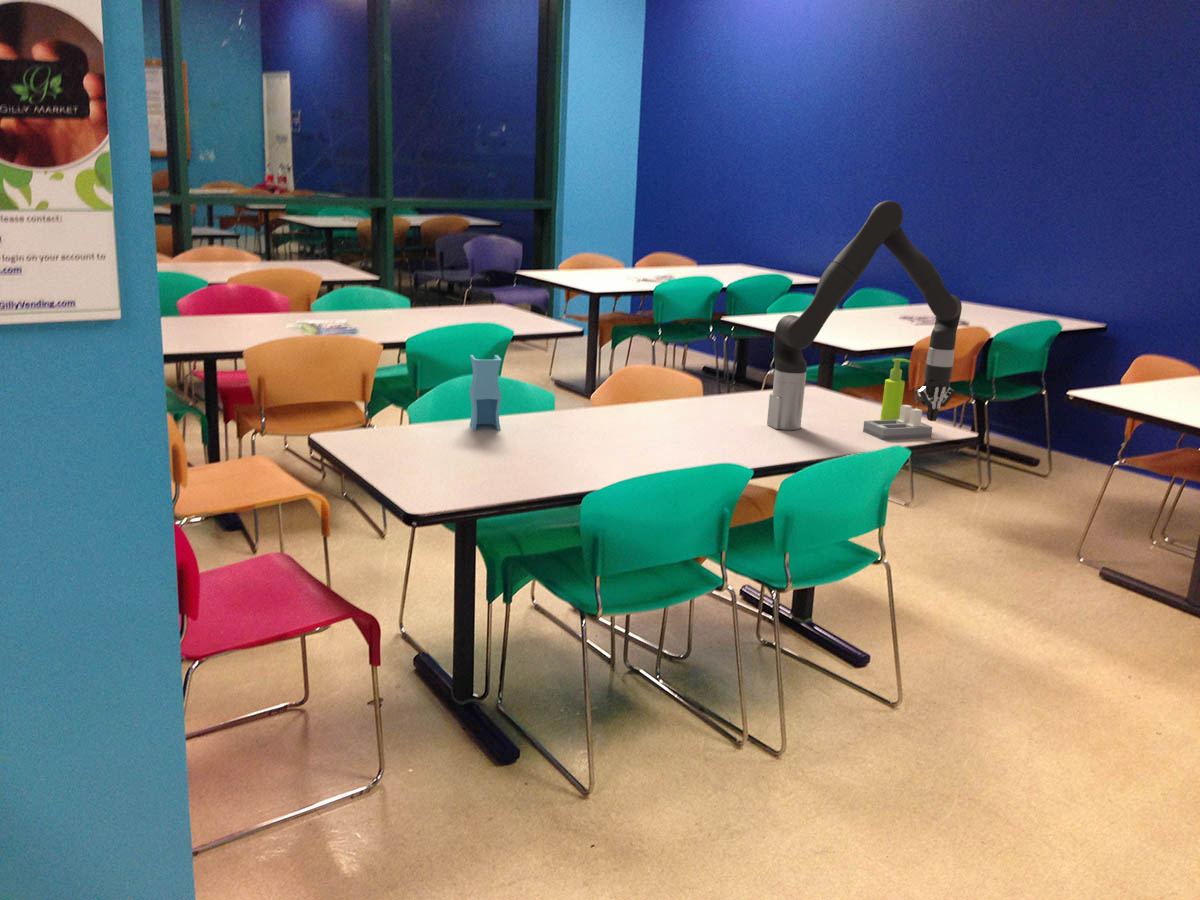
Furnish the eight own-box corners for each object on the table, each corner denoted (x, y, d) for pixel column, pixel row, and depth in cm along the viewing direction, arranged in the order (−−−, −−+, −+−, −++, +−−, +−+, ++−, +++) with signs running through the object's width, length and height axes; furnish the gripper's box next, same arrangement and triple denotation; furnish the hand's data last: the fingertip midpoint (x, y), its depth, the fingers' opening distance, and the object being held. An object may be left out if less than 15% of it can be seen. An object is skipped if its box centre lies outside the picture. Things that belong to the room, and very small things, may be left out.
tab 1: (901, 428, 308) (904, 407, 306) (895, 426, 311) (898, 404, 309) (912, 428, 309) (915, 406, 307) (906, 425, 312) (909, 404, 310)
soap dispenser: (905, 424, 319) (913, 361, 314) (882, 423, 319) (890, 360, 314) (900, 420, 325) (908, 357, 320) (878, 419, 325) (886, 356, 320)
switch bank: (882, 439, 299) (883, 428, 298) (862, 431, 308) (864, 420, 308) (930, 437, 305) (932, 426, 304) (910, 428, 314) (911, 418, 313)
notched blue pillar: (496, 423, 297) (497, 354, 291) (500, 430, 290) (502, 360, 284) (468, 423, 295) (469, 354, 289) (472, 430, 287) (473, 360, 282)
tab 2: (911, 432, 304) (913, 411, 302) (904, 430, 306) (907, 408, 304) (922, 432, 305) (925, 410, 303) (916, 429, 308) (918, 408, 306)
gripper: (928, 366, 297) (920, 424, 301) (966, 365, 301) (958, 422, 306) (913, 361, 303) (905, 418, 308) (949, 360, 308) (941, 416, 312)
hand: (931, 420), depth 307 cm, fingers closed
